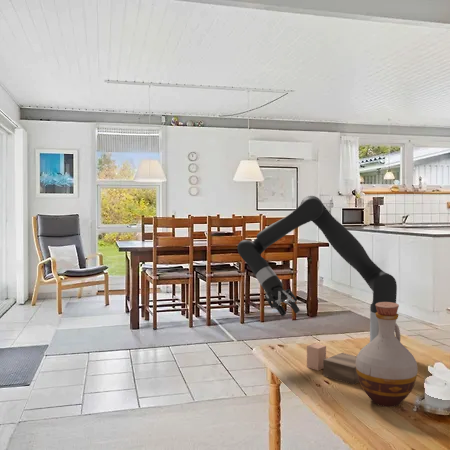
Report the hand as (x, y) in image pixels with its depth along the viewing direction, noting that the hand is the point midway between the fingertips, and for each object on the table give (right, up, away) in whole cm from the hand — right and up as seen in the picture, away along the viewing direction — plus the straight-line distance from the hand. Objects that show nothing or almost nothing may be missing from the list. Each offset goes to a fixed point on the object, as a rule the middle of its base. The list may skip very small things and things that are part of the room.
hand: (291, 313), depth 186 cm
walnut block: (+17, -19, -17) cm, 31 cm away
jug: (+24, -20, -39) cm, 50 cm away
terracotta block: (+8, -19, -8) cm, 22 cm away
